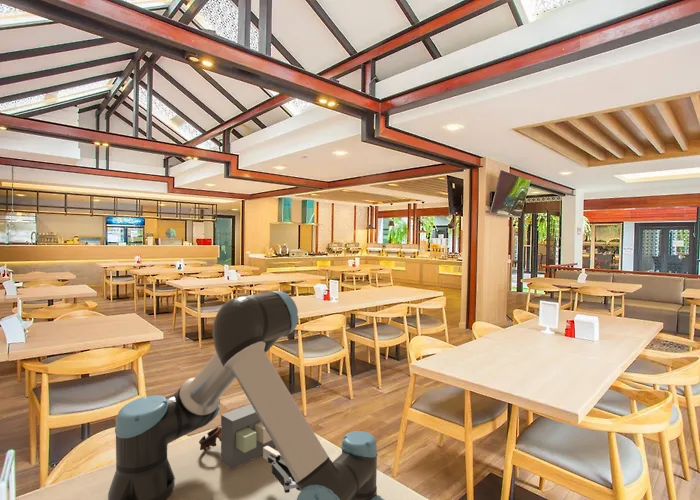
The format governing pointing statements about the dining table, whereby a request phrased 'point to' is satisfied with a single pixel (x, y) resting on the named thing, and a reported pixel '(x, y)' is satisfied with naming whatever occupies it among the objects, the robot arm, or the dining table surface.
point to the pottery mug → (210, 439)
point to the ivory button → (261, 433)
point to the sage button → (245, 439)
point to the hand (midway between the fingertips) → (265, 451)
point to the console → (228, 436)
